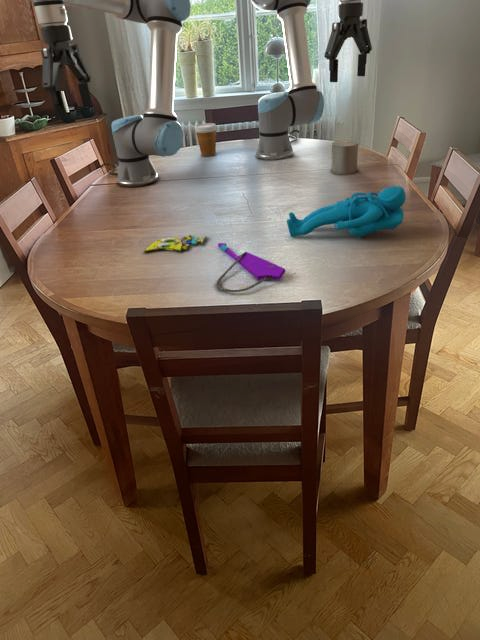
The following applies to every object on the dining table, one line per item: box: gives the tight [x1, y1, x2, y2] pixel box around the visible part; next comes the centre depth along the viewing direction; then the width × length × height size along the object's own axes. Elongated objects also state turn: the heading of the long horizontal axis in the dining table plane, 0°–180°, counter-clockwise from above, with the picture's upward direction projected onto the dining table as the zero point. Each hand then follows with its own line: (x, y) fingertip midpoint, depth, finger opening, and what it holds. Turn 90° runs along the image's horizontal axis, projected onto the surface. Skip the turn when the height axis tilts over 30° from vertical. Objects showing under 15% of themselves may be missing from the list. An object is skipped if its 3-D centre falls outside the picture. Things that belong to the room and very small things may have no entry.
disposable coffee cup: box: [194, 122, 218, 157], centre depth 207 cm, size 10×10×12 cm
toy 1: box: [144, 234, 207, 254], centre depth 130 cm, size 10×1×15 cm
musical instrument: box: [216, 242, 286, 293], centre depth 114 cm, size 24×2×20 cm
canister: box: [331, 139, 359, 176], centre depth 172 cm, size 9×9×10 cm
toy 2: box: [286, 185, 407, 238], centre depth 125 cm, size 17×11×30 cm
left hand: (75, 112), depth 137 cm, fingers open, 13 cm apart
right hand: (347, 79), depth 159 cm, fingers open, 13 cm apart
